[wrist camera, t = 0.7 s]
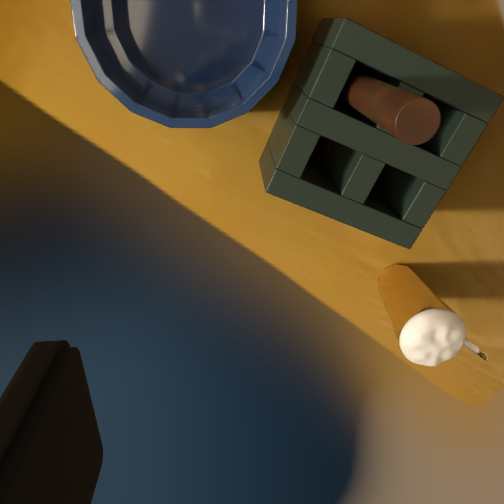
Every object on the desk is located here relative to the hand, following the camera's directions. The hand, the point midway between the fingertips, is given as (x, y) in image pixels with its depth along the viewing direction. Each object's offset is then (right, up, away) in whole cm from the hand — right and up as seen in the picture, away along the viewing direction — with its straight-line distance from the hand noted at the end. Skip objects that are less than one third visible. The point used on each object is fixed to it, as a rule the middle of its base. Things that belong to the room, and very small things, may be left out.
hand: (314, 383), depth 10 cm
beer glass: (+11, 0, +31) cm, 33 cm away
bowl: (-5, +18, +21) cm, 28 cm away
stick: (+5, +14, +23) cm, 28 cm away
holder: (+6, +12, +25) cm, 28 cm away
